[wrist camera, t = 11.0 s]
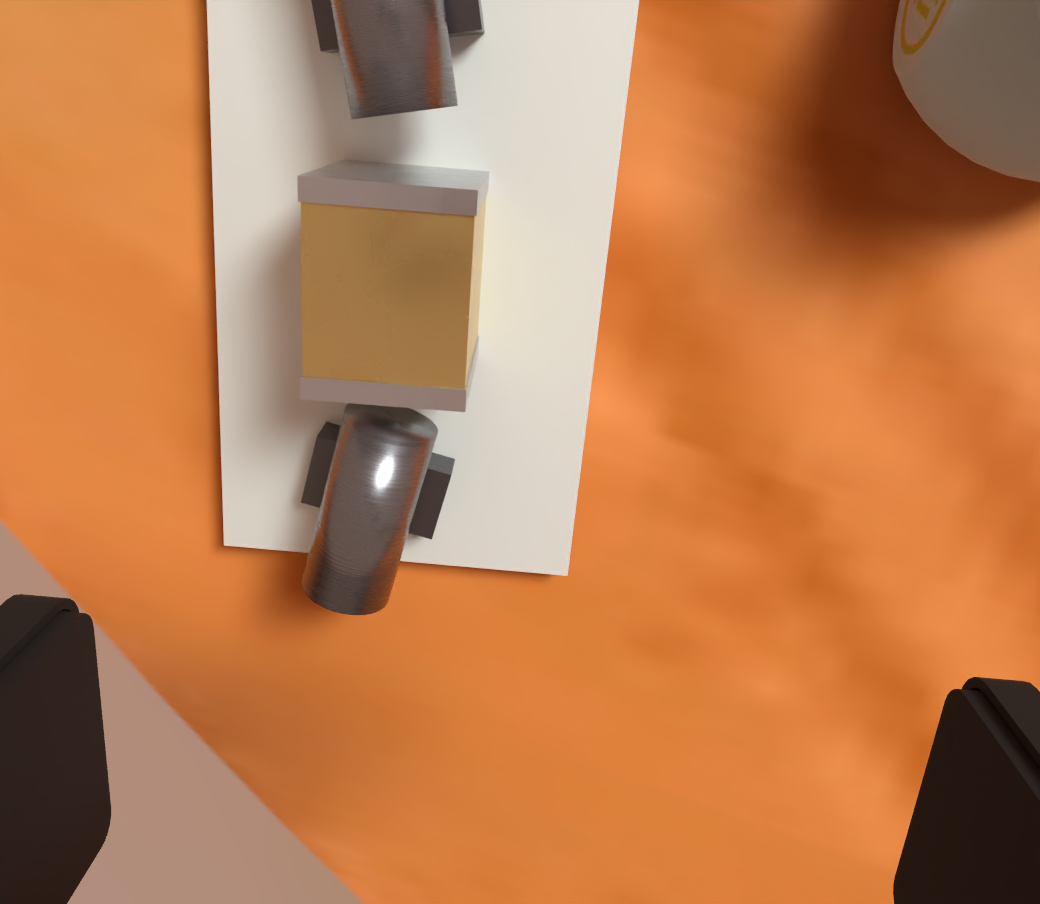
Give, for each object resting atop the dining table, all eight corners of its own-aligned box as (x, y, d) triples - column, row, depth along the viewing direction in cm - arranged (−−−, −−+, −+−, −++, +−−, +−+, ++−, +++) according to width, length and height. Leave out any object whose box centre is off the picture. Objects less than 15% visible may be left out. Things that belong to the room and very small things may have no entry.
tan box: (344, 159, 27) (297, 175, 22) (489, 170, 27) (477, 190, 22) (343, 343, 29) (300, 399, 24) (478, 354, 29) (465, 412, 24)
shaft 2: (422, 565, 32) (406, 631, 28) (299, 530, 32) (266, 593, 28) (469, 409, 30) (459, 457, 26) (338, 371, 29) (308, 413, 25)
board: (566, 559, 33) (567, 575, 32) (234, 530, 33) (223, 545, 32) (648, -108, 25) (653, -117, 24) (216, -152, 25) (201, -163, 24)
